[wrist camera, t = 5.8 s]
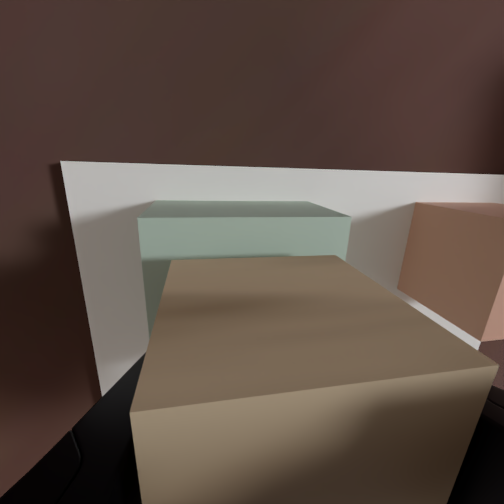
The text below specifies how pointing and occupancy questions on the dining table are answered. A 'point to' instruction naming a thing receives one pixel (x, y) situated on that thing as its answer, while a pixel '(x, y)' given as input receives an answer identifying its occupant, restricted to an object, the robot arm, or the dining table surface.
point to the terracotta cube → (458, 264)
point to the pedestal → (232, 235)
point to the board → (237, 189)
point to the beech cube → (300, 389)
